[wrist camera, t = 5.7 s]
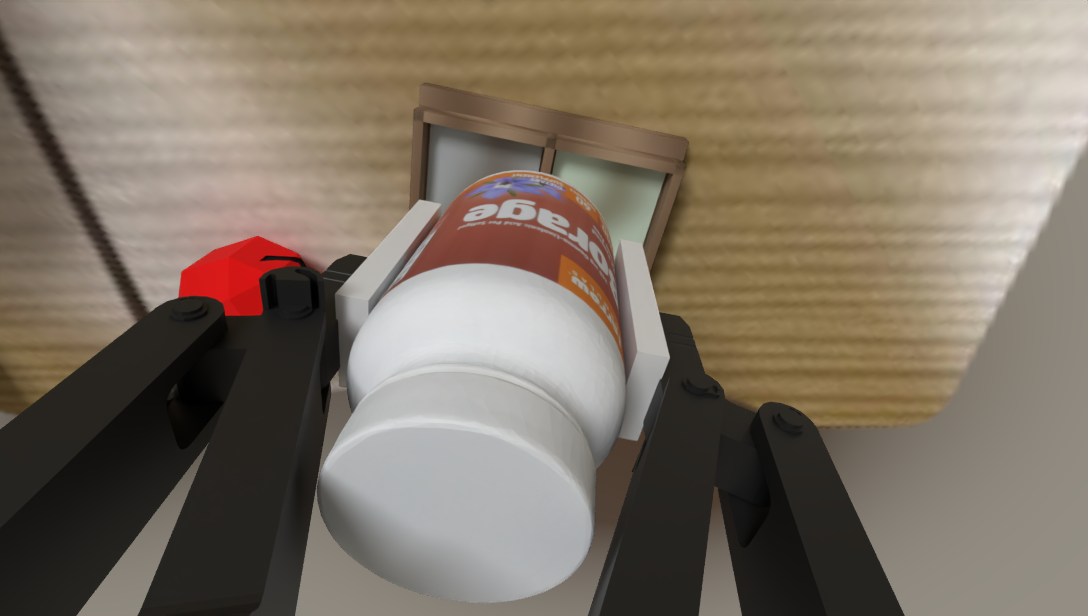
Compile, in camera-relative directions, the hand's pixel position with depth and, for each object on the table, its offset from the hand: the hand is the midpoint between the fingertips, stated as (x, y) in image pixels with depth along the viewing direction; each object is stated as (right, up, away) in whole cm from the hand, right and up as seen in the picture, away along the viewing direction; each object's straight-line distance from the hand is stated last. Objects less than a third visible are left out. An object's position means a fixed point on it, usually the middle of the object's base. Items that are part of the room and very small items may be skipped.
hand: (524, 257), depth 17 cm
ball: (-20, +1, +22) cm, 30 cm away
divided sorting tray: (+1, +6, +17) cm, 18 cm away
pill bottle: (0, 0, +1) cm, 1 cm away
